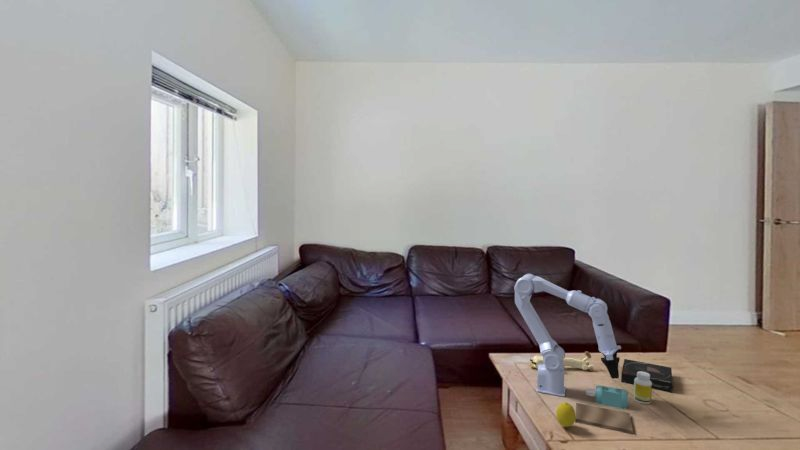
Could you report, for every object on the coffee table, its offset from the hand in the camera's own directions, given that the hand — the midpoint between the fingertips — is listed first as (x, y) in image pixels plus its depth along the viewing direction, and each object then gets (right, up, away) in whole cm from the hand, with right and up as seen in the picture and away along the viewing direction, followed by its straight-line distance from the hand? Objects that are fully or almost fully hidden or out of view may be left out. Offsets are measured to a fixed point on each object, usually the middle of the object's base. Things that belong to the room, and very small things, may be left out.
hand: (614, 373), depth 140 cm
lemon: (-22, -12, -13) cm, 29 cm away
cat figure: (-7, -9, +30) cm, 32 cm away
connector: (-2, -11, +2) cm, 11 cm away
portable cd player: (+23, -10, +20) cm, 32 cm away
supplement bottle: (+11, -11, +3) cm, 16 cm away
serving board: (-9, -11, -9) cm, 17 cm away
